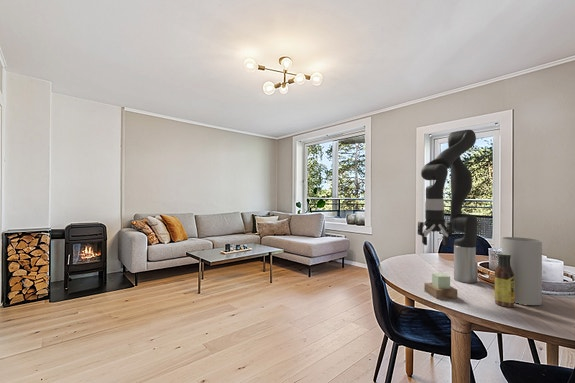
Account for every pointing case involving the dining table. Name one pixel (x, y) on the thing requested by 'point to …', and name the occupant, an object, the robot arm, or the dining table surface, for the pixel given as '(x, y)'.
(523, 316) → the dining table surface
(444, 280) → the green cube
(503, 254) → the sauce bottle
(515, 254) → the cylinder vase
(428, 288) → the walnut base
